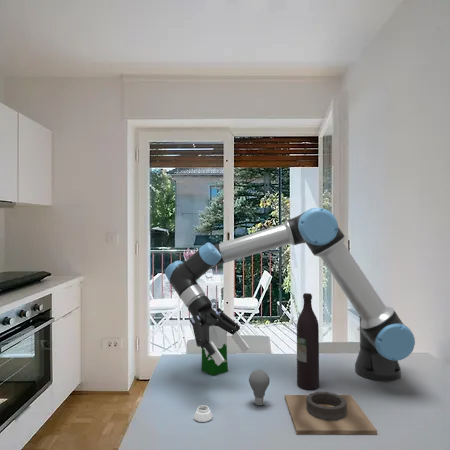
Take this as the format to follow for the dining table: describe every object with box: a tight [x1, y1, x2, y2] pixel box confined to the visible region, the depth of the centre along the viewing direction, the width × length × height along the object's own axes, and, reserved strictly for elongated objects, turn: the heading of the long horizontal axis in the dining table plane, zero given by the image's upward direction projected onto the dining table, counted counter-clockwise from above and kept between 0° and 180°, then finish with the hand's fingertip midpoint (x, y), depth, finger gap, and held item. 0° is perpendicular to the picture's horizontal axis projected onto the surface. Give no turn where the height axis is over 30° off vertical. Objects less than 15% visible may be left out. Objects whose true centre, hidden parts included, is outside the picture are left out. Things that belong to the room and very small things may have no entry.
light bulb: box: [248, 368, 270, 406], centre depth 109 cm, size 6×6×10 cm
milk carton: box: [200, 319, 229, 377], centre depth 136 cm, size 9×9×20 cm
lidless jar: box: [193, 405, 213, 423], centre depth 102 cm, size 5×3×5 cm
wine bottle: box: [296, 292, 320, 391], centre depth 122 cm, size 7×7×30 cm
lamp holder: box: [284, 391, 378, 435], centre depth 103 cm, size 20×20×4 cm
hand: (234, 356), depth 114 cm, fingers open, 13 cm apart
